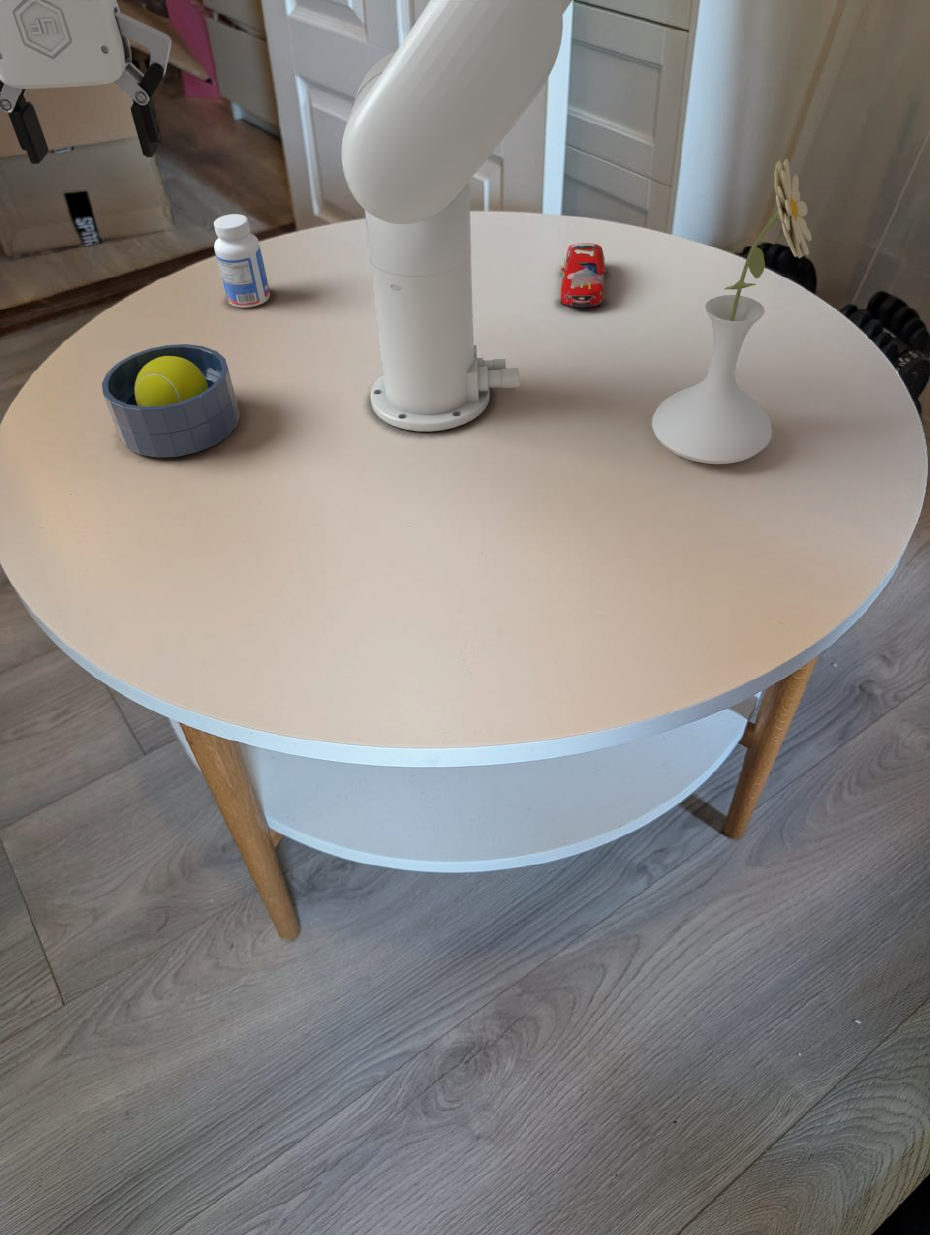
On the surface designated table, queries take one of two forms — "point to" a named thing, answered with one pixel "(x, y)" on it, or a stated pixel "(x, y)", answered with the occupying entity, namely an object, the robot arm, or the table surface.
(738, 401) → the flower in vase
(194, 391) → the tennis ball
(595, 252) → the race car
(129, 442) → the blue round bowl
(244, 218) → the pill bottle
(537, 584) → the table surface
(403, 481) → the table surface
